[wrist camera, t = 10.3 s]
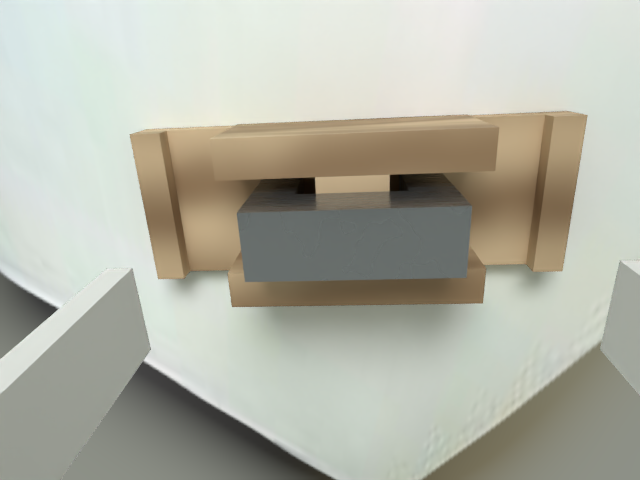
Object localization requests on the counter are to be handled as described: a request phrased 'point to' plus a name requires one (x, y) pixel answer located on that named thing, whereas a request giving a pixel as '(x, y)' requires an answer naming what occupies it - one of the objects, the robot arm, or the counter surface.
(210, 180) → the rail
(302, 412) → the counter surface
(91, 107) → the counter surface
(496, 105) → the counter surface
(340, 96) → the counter surface
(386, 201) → the clip
